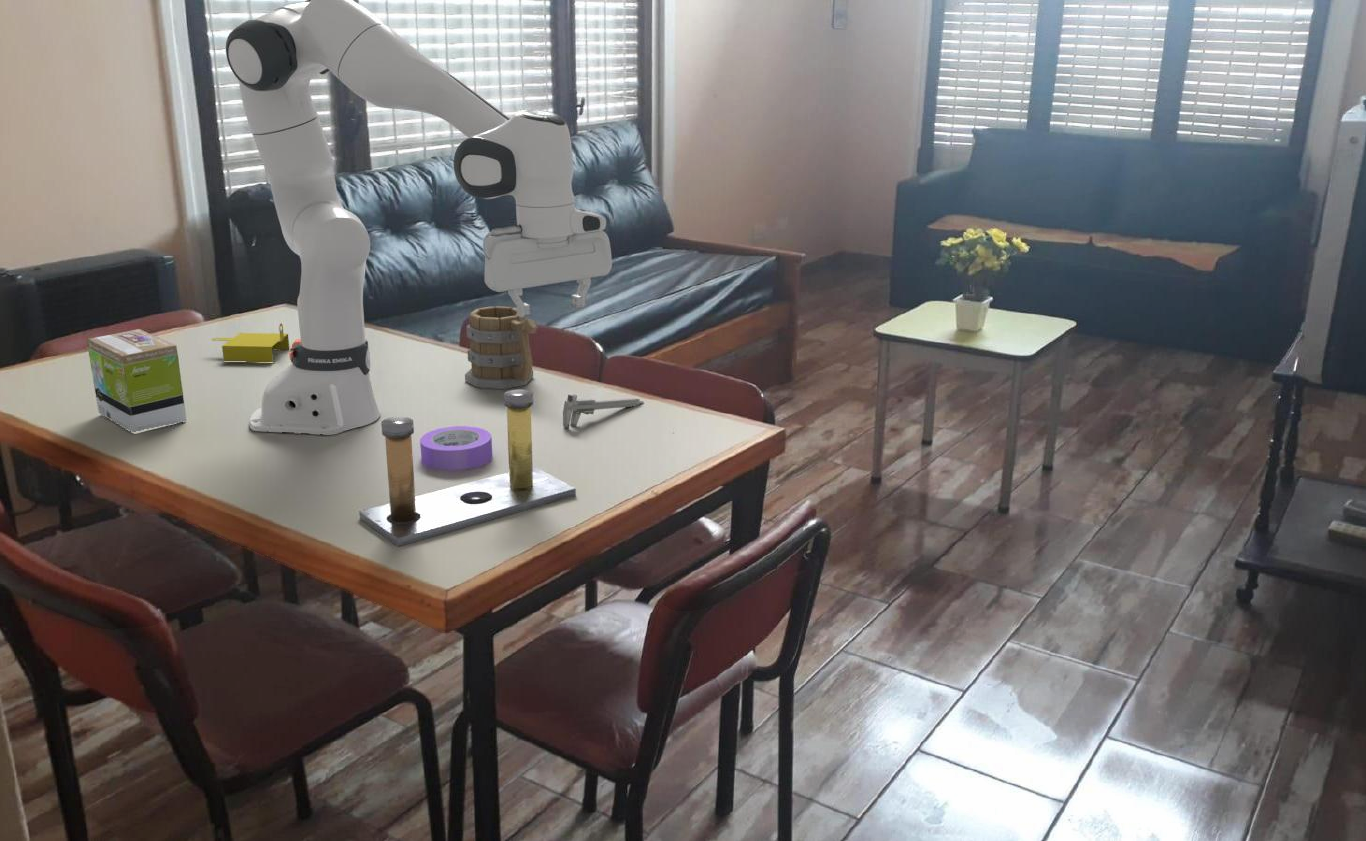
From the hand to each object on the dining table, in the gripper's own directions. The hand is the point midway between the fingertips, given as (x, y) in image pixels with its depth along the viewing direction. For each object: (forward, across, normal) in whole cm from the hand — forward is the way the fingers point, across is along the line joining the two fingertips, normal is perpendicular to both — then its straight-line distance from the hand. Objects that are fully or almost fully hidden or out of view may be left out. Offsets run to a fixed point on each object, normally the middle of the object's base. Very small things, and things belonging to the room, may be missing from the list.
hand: (551, 311), depth 185 cm
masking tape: (+27, -12, +15) cm, 33 cm away
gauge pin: (+25, -9, -5) cm, 27 cm away
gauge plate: (+26, -18, -6) cm, 32 cm away
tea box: (+25, -52, +61) cm, 85 cm away
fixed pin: (+25, -29, -7) cm, 39 cm away
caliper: (+28, +20, +22) cm, 41 cm away
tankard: (+28, +13, +48) cm, 57 cm away
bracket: (+27, -26, +94) cm, 101 cm away
